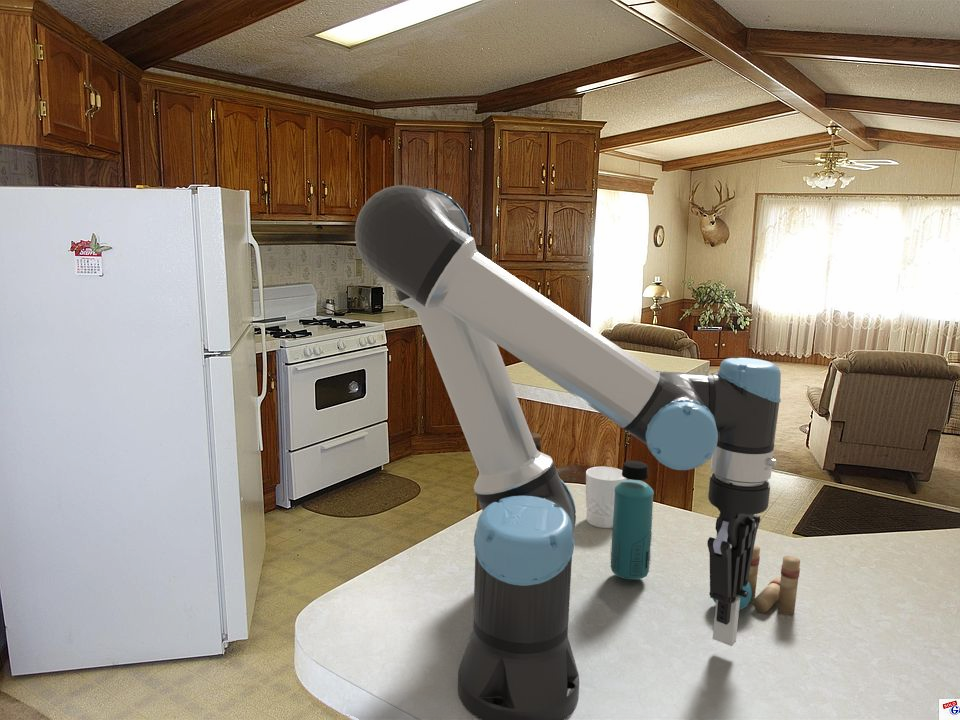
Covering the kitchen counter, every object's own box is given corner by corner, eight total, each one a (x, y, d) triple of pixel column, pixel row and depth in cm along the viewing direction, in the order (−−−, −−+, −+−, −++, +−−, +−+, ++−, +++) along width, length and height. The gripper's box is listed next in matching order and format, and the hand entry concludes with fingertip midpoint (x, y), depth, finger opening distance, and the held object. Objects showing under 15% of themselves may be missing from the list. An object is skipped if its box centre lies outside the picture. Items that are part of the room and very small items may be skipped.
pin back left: (745, 602, 115) (750, 552, 113) (734, 594, 117) (739, 545, 115) (758, 600, 116) (764, 549, 114) (747, 592, 118) (752, 542, 116)
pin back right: (785, 616, 111) (791, 564, 109) (773, 608, 113) (778, 556, 112) (798, 613, 112) (804, 561, 110) (786, 605, 114) (792, 554, 113)
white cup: (614, 533, 139) (617, 483, 137) (576, 523, 143) (579, 474, 141) (630, 519, 146) (633, 471, 144) (593, 510, 150) (596, 463, 148)
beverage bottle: (649, 590, 118) (658, 471, 114) (607, 585, 119) (614, 467, 115) (648, 572, 124) (657, 458, 120) (608, 567, 125) (615, 455, 121)
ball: (742, 614, 114) (746, 620, 108) (704, 599, 116) (706, 604, 110) (754, 577, 115) (759, 581, 109) (715, 562, 116) (718, 565, 111)
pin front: (765, 595, 111) (785, 575, 117) (749, 597, 113) (770, 577, 119) (771, 612, 111) (791, 591, 117) (756, 613, 112) (776, 593, 119)
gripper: (751, 497, 89) (733, 673, 93) (785, 471, 99) (767, 630, 103) (692, 482, 94) (678, 650, 98) (730, 458, 104) (716, 612, 108)
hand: (724, 640), depth 101 cm, fingers closed
